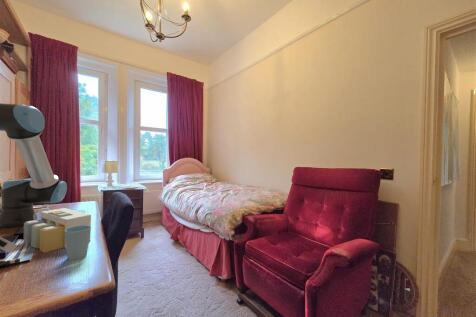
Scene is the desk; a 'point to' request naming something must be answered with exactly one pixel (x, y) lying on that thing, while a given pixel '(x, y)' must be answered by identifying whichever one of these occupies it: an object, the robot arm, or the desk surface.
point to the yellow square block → (52, 238)
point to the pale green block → (38, 233)
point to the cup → (77, 241)
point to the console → (66, 218)
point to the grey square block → (30, 229)
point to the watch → (38, 211)
